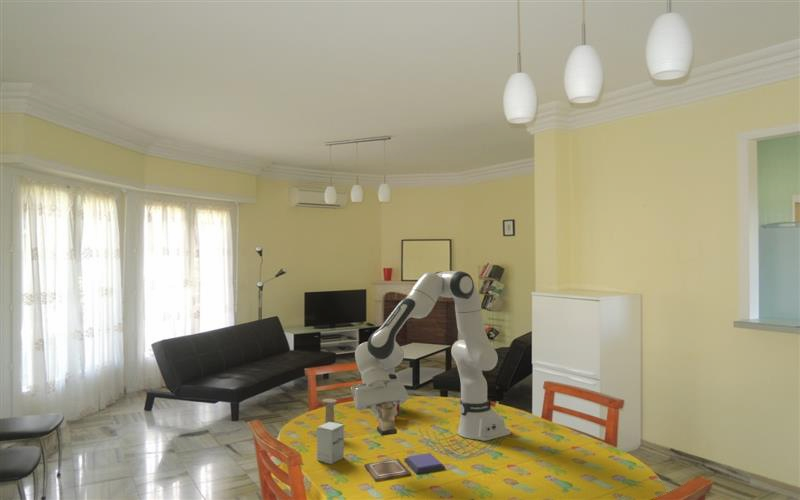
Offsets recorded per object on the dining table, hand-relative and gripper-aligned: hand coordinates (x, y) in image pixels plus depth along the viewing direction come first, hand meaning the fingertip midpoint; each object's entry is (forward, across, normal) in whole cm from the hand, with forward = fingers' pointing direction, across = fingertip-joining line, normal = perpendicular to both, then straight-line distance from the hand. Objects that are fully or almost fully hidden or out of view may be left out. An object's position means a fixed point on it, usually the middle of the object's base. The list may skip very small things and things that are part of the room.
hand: (387, 416), depth 180 cm
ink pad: (+15, +14, +12) cm, 24 cm away
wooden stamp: (+4, 0, +4) cm, 6 cm away
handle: (-17, -6, +44) cm, 48 cm away
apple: (-21, +26, +49) cm, 59 cm away
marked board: (+13, 0, +14) cm, 19 cm away
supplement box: (0, -14, +28) cm, 31 cm away
